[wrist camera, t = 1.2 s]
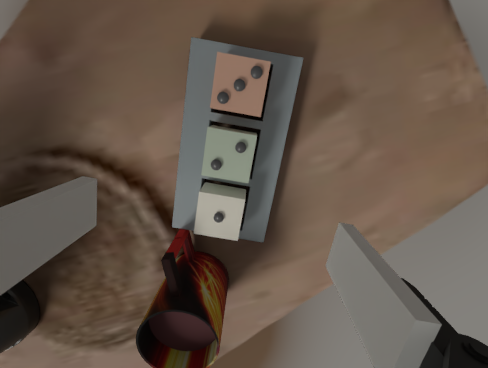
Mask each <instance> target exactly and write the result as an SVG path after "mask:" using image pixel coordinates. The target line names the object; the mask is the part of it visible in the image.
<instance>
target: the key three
mask: <svg viewBox="0 0 488 368" xmlns="http://www.w3.org/2000/svg"><path fill="white" fill-rule="evenodd" d="M270 64H271V62H270V61H265V60H259V59H254V58H248V57H243V56H238V55H232V54H227V53H221V52H217V57H216V65H215V73H214V80H213V88H212V96H211V104H210V108H213V109H218V110H224V111H229V112H235V113H240V114H246V115H251V116H257V117H261V113H262V107H263V102H264V97H265V91H266V86H267V80H268V75H269V70H270Z"/></svg>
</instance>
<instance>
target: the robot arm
mask: <svg viewBox="0 0 488 368" xmlns="http://www.w3.org/2000/svg"><path fill="white" fill-rule="evenodd" d="M96 217H97V179H95V178H89V177H84V176H82V177H80V178H77V179H74V180H72V181H69V182H66V183H64V184H61V185H58V186H56V187H53V188H50V189H48V190H45V191H42V192H40V193H37V194H35V195H32V196H29V197H27V198H24V199H21V200H19V201H16V202H13V203H11V204H8V205H5V206H3V207H0V353H2V352H3V351H5V350H7V349H10V348H12V347H14V346H15V345H17V344H18V343H20V342H21V341H22V340H23V339H24V338H25V337H26V336H27V335H28V334H29V333H30V332H31V331H32V330H33V329H34V328H35V327H36V325H37V323H38V320H39V315H40V311H39V305H38V302H37V299H36V297H35V295H34V294H33V292H32V291H31V289H30V288H29V287H28V286H27V285H26V284H25V283H24V282H23V281H22V279H24V278H25V277H26V276H28V275H29V274H31V273H32V272H33V271H35V270H36V269H37V268H39V267H40V266H42V265H43V264H44V263H46V262H47V261H48V260H50V259H51V258H53V257H54V256H55V255H57V254H58V253H59V252H61V251H62V250H64V249H65V248H66V247H68V246H69V245H70V244H72V243H73V242H75V241H76V240H77V239H79V238H80V237H81V236H83V235H84V234H86V233H87V232H88V231H90V230H91V229H92V228H94V227H95V226H96ZM326 268H327V270H328V272H329V274H330V277H331V279H332V281H333V283H334V285H335V287H336V289H337V291H338V293H339V295H340V298H341V300H342V302H343V304H344V306H345V308H346V310H347V312H348V314H349V317H350V319H351V321H352V323H353V325H354V327H355V329H356V331H357V333H358V335H359V338H360V340H361V342H362V344H363V346H364V348H365V350H366V352H367V354H368V356H369V359H370V361H371V363H372V365H373V367H374V368H488V346H486V345H485V344H483V343H481V342H480V341H478V340H476V339H474V338H471V337H469V336H466V335H462V334H458V333H457V332H456V331H455V330H454V328H453V327H452V326H451V325H450V324H449V323H448V322H447V321H446V320H445V319H444V318H443V317H442V316H441V314H440V313H439V312H438V311H437V310H436V309H435V308H434V307H432V305H431V304H430V303H429V302H428V300H427V299H424V296H423V295H422V294H421V293H420V292H419V291H418V290H417V289H416V288H415V287H414V286H413V285H411V284H410V283H409V282H407V281H406V280H404V279H403V278H400V277H399V276H398V275H397V274H396V273H395V271H394V270H393V269H392V268H391V267H390V266H389V265H388V264H387V262H386V261H385V260H384V259H383V258H382V257H381V256H380V255H379V253H378V252H377V251H376V250H375V249H374V248H373V247H372V246H371V245H370V243H369V242H368V241H367V240H366V239H365V238H364V237H363V236H362V234H361V233H360V232H359V231H358V230H357V229H356V228H355V227H354V225H351V224H345V223H340V222H339V224H338V228H337V231H336V234H335V237H334V240H333V244H332V247H331V250H330V253H329V257H328V260H327V263H326Z"/></svg>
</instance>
